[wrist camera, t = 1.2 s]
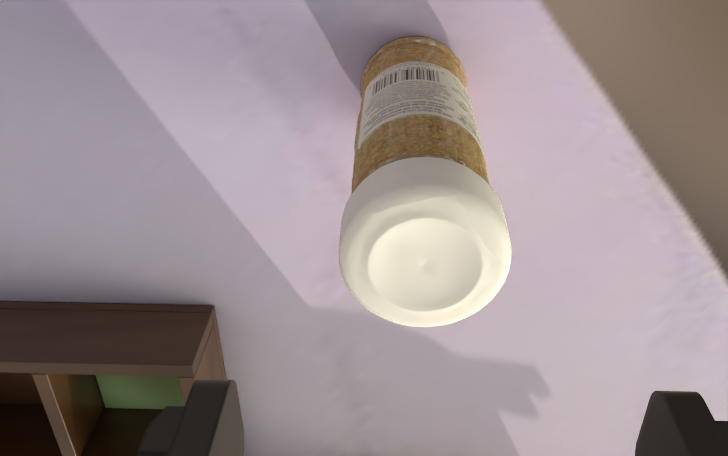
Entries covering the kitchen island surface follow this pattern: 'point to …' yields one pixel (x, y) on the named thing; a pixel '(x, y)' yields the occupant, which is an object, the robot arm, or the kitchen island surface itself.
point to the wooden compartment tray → (97, 373)
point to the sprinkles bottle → (421, 193)
